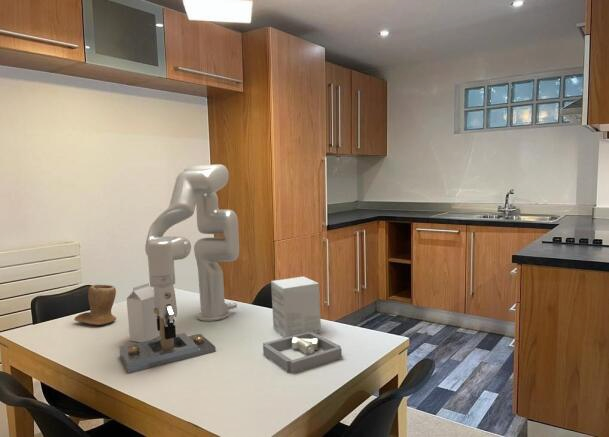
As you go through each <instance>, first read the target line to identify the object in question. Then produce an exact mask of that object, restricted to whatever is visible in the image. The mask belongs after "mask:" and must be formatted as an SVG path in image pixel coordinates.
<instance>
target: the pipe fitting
mask: <svg viewBox="0 0 609 437" xmlns="http://www.w3.org/2000/svg"><path fill="white" fill-rule="evenodd" d="M291 349H293V350H300V351H301V352H303V353H304V354H305V355H306V356H308V355H312V354H314V352H315V351H319V349H320V348H319V339H318V338H313V339H310V338H296V337H293V339H292V347H291Z"/></svg>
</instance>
